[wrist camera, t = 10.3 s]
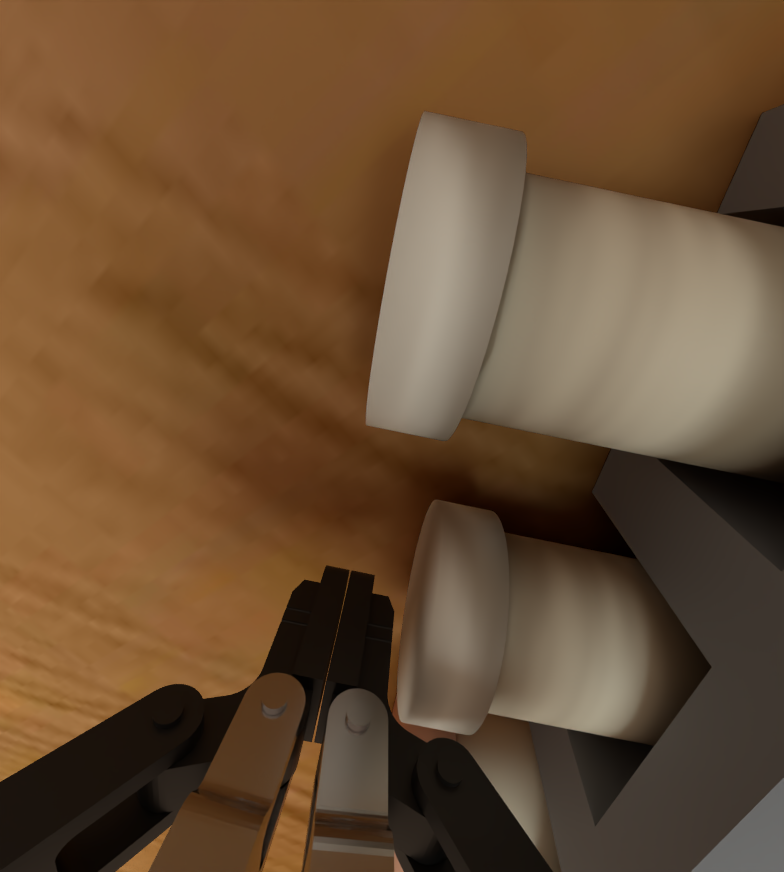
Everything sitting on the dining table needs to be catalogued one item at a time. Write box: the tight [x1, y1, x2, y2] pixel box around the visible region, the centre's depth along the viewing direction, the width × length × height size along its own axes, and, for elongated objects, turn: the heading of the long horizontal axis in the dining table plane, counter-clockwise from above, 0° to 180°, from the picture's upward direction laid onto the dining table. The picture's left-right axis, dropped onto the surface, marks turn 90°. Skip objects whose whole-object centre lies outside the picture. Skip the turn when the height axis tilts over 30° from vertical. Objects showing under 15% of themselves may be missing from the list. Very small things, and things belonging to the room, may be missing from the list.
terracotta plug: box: [392, 695, 561, 872], centre depth 17 cm, size 10×6×6 cm, turn 79°
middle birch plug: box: [397, 500, 712, 746], centre depth 13 cm, size 10×6×6 cm, turn 79°
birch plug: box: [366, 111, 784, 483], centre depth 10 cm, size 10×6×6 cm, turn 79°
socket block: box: [529, 104, 784, 872], centre depth 13 cm, size 10×29×9 cm, turn 169°
